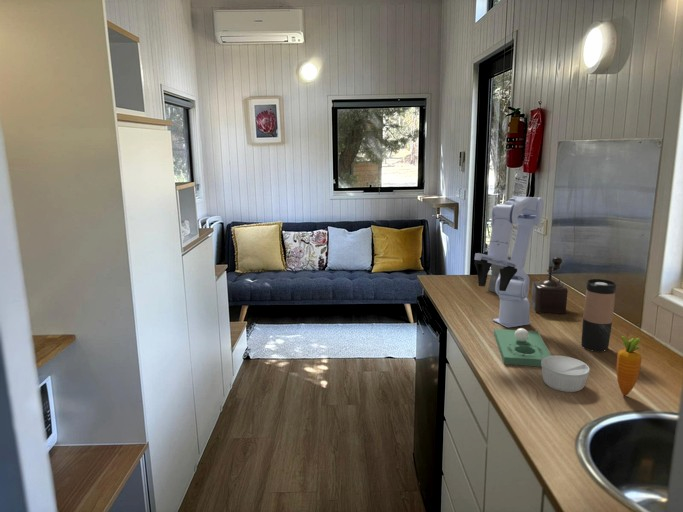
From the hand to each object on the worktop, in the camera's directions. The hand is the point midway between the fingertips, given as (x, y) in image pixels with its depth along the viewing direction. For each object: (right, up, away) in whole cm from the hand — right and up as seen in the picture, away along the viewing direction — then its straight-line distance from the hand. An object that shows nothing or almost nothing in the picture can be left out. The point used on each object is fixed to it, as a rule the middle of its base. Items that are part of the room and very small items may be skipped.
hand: (492, 288), depth 146 cm
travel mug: (+31, -18, +1) cm, 35 cm away
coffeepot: (+20, -5, +60) cm, 64 cm away
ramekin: (+11, -23, -22) cm, 33 cm away
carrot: (+23, -24, -28) cm, 43 cm away
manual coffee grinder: (+32, -10, +38) cm, 50 cm away
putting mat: (+8, -18, -1) cm, 20 cm away
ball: (+9, -14, 0) cm, 16 cm away
